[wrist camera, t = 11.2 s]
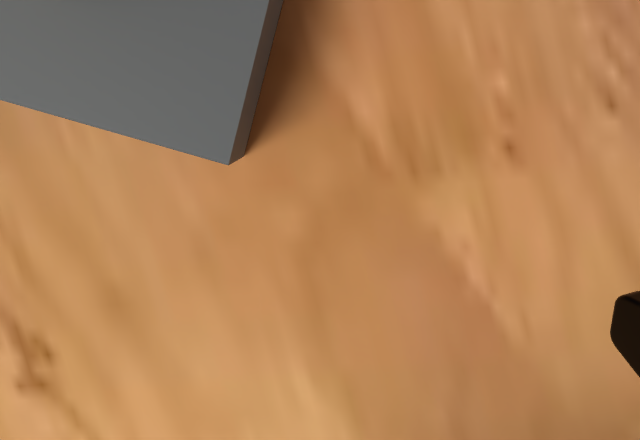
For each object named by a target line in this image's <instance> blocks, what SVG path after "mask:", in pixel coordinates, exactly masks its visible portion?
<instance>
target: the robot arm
mask: <svg viewBox="0 0 640 440" xmlns="http://www.w3.org/2000/svg"><path fill="white" fill-rule="evenodd" d="M610 335H611V339H612V342H613V343H614V345H615V347H616V348H617V349H618V351H619V352H620V353H621V354H622V356H623V357H624V358H625V359H626V361H627V362H628V363H629V365H630V366H631V367H632V368H633V370H634V371H635V372H636V373H637V375H638V376H639V377H640V291H636V292H632V293H628V294H625V295H622V296H620V297H618V298H617V300H616V302H615V306H614V312H613V318H612V324H611V329H610Z"/></svg>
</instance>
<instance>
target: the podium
mask: <svg viewBox="0 0 640 440" xmlns="http://www.w3.org/2000/svg"><path fill="white" fill-rule="evenodd" d="M282 3H283V0H0V100H3V101H6V102H10V103H13V104H17V105H20V106H24V107H27V108H31V109H34V110H37V111H41V112H44V113H48V114H51V115H55V116H58V117H62V118H65V119H69V120H72V121H76V122H79V123H83V124H86V125H90V126H93V127H97V128H100V129H104V130H107V131H111V132H114V133H118V134H121V135H125V136H128V137H132V138H135V139H139V140H142V141H146V142H149V143H152V144H156V145H159V146H163V147H166V148H170V149H173V150H177V151H180V152H184V153H187V154H191V155H194V156H198V157H201V158H205V159H208V160H212V161H215V162H219V163H222V164H226V165H230V164H231V163H233V162H235V161H237V160H238V159H240V158H242V157H244V154H245V150H246V146H247V142H248V138H249V134H250V130H251V126H252V122H253V118H254V114H255V110H256V106H257V102H258V98H259V94H260V90H261V86H262V82H263V79H264V75H265V71H266V67H267V63H268V59H269V55H270V51H271V47H272V43H273V39H274V35H275V31H276V27H277V23H278V19H279V15H280V11H281V7H282Z"/></svg>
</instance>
